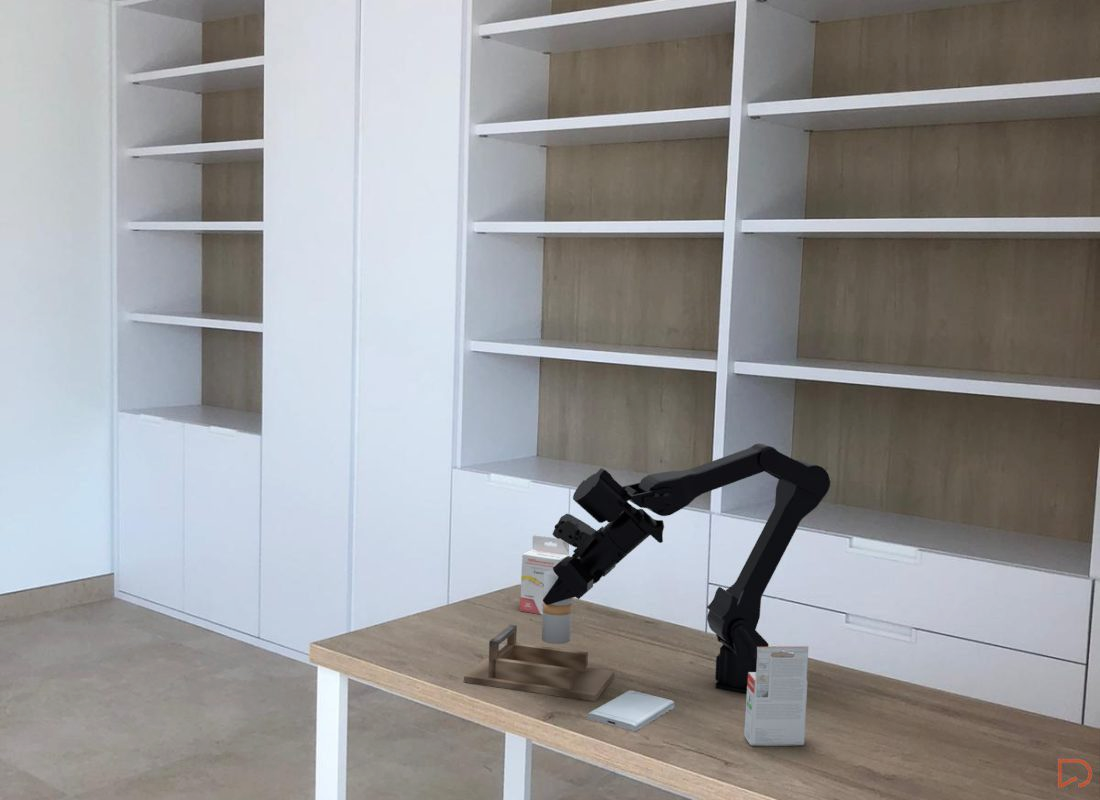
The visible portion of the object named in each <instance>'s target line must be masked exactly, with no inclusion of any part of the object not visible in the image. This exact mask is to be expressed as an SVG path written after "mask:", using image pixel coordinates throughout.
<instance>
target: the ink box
mask: <svg viewBox="0 0 1100 800" xmlns="http://www.w3.org/2000/svg"><path fill="white" fill-rule="evenodd" d="M781 651H784V652H785V653H793V655H792V656H772V654H773V653H780V652H781ZM808 659H809V646H768V647H757V665H756V672H748V683H747V693H746V697H745V698H746V699H745V700H746V702H745V715H744V733H743V734H744V738H745V740H746V741H747V742H748V744H749V746H751V747H753V746H754V747H778V746H779V747H780V746H782V747H783V746H785V747H787V746H788V747H791V746H804V745H805V736H806V718H807V717H806V715H807V713H806V712H807V698H808V662H809V660H808Z"/></svg>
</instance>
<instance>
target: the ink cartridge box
mask: <svg viewBox="0 0 1100 800" xmlns="http://www.w3.org/2000/svg"><path fill="white" fill-rule="evenodd" d="M550 542H551V543H552V544H555V545H556V546H554V545H548V544H545V543H550ZM567 556H570V557H571V555H570V544H568V543H567V542H565V541H563V540H562V539H557V538H556V537H551V536H546V535H537V534H534V535H533V536H532V549H531V550H528V551H526V552H524V553H522V557H521V578H520V579H521V582H520V604H519V611H520V612H524V613H525V612H526V613H531V614H537V615H541V616H543V592H544V572H545V571H548V570H553V567H555V566H556V565H557V564H558V563H559V562H560V561H561V560H563V559H564V558H565V557H567Z"/></svg>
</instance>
